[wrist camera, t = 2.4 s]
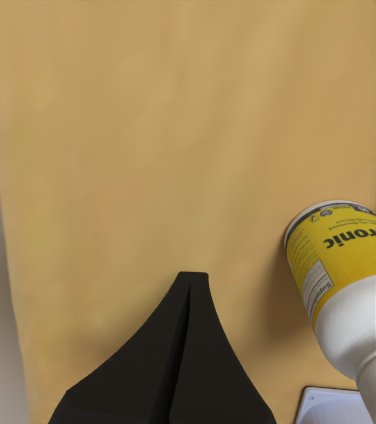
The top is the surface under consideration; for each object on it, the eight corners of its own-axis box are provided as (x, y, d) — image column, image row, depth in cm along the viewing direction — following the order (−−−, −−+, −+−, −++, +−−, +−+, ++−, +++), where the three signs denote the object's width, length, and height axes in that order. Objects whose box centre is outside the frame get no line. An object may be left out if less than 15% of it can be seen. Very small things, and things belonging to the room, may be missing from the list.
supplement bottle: (394, 204, 14) (654, 390, 6) (354, 278, 17) (494, 485, 8) (297, 189, 15) (406, 347, 6) (271, 264, 17) (323, 452, 9)
